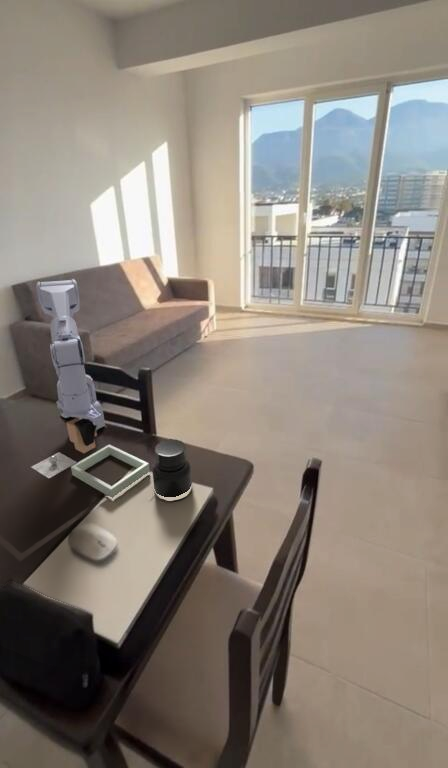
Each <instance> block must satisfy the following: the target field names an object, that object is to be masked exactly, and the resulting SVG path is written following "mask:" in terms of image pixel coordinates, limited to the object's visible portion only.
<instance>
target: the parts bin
mask: <svg viewBox="0 0 448 768" xmlns="http://www.w3.org/2000/svg"><path fill="white" fill-rule="evenodd" d="M109 456H112V457H113V458H116V459H118V460H120V461H122V462H123V463H126V464H128V465H130V466H131V467H134V468H136V469H134V470H133V471H132V472H130V473H129V474H127V475H126V476H125V477H122V479H120V480H118V481H117V482H116V483H114V484H113V485H110V484H109V483H107V482H105V481H103V480H101V479H100V478H97V477H95V476H94V475H92V474H90V473H88V472H86V471H85V470H87V469H90V468H91V467H93V466H94V465H96V464H97V463H99V462H101V461H102V460H104V459H106V458H108V457H109ZM70 470H71V473H72V475H71V476H74V477H75V478H76V479H78V480H80V481H82V482H83V483H85V484H87V485H89V486H90V487H92V488H94V489H96V490H98V491H99V492H101V493H102V494H104V495H103V497H104V496H110V497H112V498H113V497H114V496H115V495H117V494H118V493H119V492H121V491H122V490H123V489H125V488H126V487H128V486H129V485H131V484H132V483H133V482H135V481H136V480H138V479H139V478H141V477H142V476H143V475H145V474H147V473H148V472H150V471H151V470H150V463H149V462H147V461H145V460H143V459H140V458H139V457H137V456H134V455H132V454H130V453H128V452H126V451H125V450H122V449H120V448H118V447H115V446H113V445H111V444H107V445H105V446H104V447H102V448H100V449H98V450H97V451H96V452H94V453H92V454H90V455H89V456H87V457H85V458H83V459H82V460H80V461H78V462H77V463H75V464H73V465H72V466H70ZM150 473H151V472H150Z"/></svg>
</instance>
